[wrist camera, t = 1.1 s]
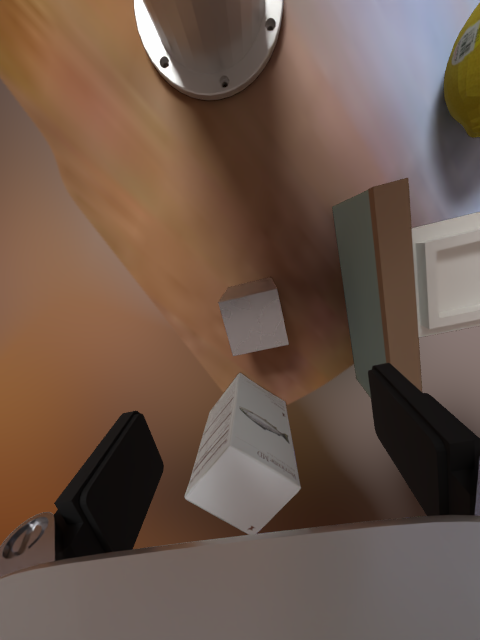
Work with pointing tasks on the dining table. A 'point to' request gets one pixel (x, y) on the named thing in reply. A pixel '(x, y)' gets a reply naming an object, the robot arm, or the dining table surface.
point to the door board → (379, 280)
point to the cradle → (447, 274)
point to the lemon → (465, 77)
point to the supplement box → (245, 458)
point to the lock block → (253, 317)
